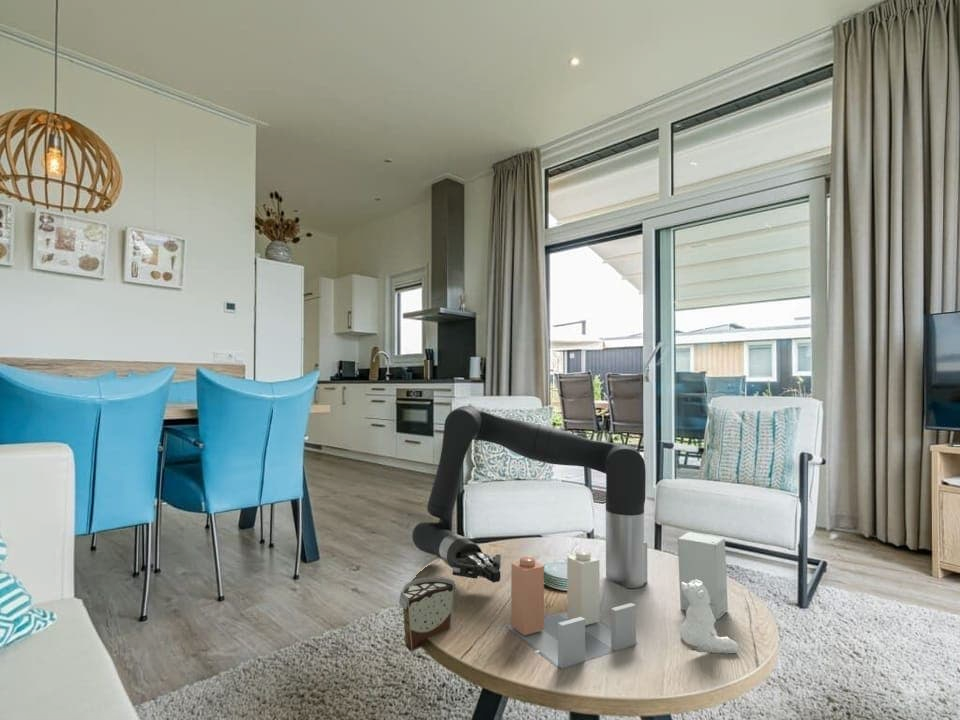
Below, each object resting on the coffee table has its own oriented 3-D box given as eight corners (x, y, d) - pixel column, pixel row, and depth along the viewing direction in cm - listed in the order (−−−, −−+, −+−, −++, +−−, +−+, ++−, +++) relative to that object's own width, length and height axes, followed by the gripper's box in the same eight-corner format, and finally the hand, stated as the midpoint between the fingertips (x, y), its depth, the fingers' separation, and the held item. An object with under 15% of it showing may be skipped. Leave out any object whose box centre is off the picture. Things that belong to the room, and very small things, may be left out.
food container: (435, 621, 106) (436, 571, 107) (456, 632, 102) (456, 580, 102) (385, 642, 98) (386, 588, 98) (404, 654, 93) (405, 597, 94)
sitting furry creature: (741, 654, 94) (740, 586, 95) (703, 662, 91) (703, 593, 92) (702, 630, 103) (701, 569, 104) (666, 637, 100) (666, 574, 101)
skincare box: (728, 611, 112) (727, 538, 113) (717, 621, 107) (717, 545, 108) (689, 600, 118) (688, 530, 118) (677, 609, 113) (677, 536, 113)
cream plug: (584, 612, 107) (584, 548, 108) (599, 621, 103) (599, 554, 104) (567, 617, 105) (567, 551, 106) (581, 626, 101) (581, 558, 102)
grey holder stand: (577, 613, 110) (577, 574, 110) (638, 650, 95) (638, 604, 96) (503, 633, 101) (503, 591, 101) (557, 677, 86) (557, 627, 87)
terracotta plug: (530, 620, 103) (530, 554, 104) (543, 630, 99) (543, 561, 100) (511, 625, 101) (511, 557, 102) (524, 635, 97) (524, 565, 98)
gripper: (435, 541, 122) (469, 564, 107) (484, 534, 129) (523, 554, 114) (434, 574, 122) (469, 601, 107) (483, 564, 129) (523, 589, 113)
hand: (497, 577), depth 110 cm, fingers closed
